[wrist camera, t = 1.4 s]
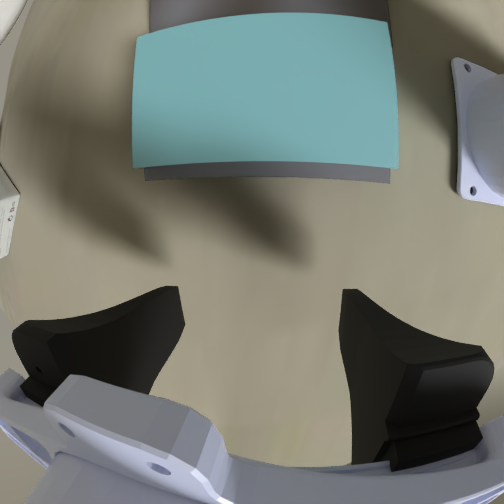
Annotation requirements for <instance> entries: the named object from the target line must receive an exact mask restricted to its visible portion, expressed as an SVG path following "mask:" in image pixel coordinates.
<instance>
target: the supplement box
mask: <svg viewBox="0 0 504 504" xmlns="http://www.w3.org/2000/svg"><path fill="white" fill-rule="evenodd" d="M19 199H20V194H19V192H18V191H17V190H16V188H15V187H14V185H13V184H12V183H11V181H10V180H9V178H8V177H7V175H6V174H5V172H4V171H3V169H2V167H1V166H0V258H2V257H4V256H6V255H8V253H9V249H10V243H11V237H12V232H13V227H14V222H15V217H16V212H17V208H18V203H19Z"/></svg>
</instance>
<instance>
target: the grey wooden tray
mask: <svg viewBox="0 0 504 504" xmlns="http://www.w3.org/2000/svg"><path fill="white" fill-rule="evenodd" d="M261 13H321V14H334V15H344V16H352V17H360V18H366V19H372V20H378V21H383V22H387V24H388V30H389V35H390V41H391V47H392V48H393V46H392V35H391V26H390V18H389V11H388V4H387V0H150V33H152V32H155V31H159V30H163V29H167V28H170V27H175V26H179V25H183V24H188V23H193V22H198V21H203V20H209V19H215V18H222V17H229V16H238V15H248V14H261Z"/></svg>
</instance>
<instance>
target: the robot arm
mask: <svg viewBox="0 0 504 504" xmlns="http://www.w3.org/2000/svg"><path fill="white" fill-rule="evenodd" d="M464 66H466V68H467V69H468V71H467V70H466V69H465V67H464ZM451 67H452V73H453V80H454V88H455V97H456V108H457V123H458V174H457V193H458V195H459V196H460V197H461V198H464V199H468V200H474V201H480V202H485V203H490V204H496V205H501V206H504V74H501V75H498V74H496V73H494V72H492V71H490V70H488V69H486V68H483V67H481V66H479V65H476V64H474V63H472V62H469V61H467V60H464V59H462V58H459V57H456V58H454V59H452V61H451ZM471 187H472V188H473V192H472V194H470V188H471ZM184 326H185V321H184V316H183V311H182V306H181V300H180V295H179V289H178V286H164V287H160V288H157V289H155V290H152V291H150V292H148V293H145V294H143V295H141V296H138V297H136V298H134V299H131V300H129V301H126V302H124V303H121V304H119V305H116V306H114V307H111V308H108V309H105V310H102V311H99V312H95V313H91V314H87V315H82V316H77V317H72V318H65V319H56V320H28V321H25V322H24V323H22V324H21V325H20V326H18V327H17V328H16V329H15V330H13V333H12V340H13V344H14V347H15V350H16V352H17V354H18V356H19V358H20V360H21V362H22V364H23V365H24V367H25V369H26V371H27V372H28V374H29V377H28V378H27V379H26V380H25V379H24V378H23V376H21V375H20V374H19V373H17V372H15V371H14V370H12V369H10V368H9V369H8V370H7V371H5V372H4V373H3V374H2V375H1V376H0V427H1V429H2V430H3V431H4V432H5V433H6V434H7V436H8V437H9V438H10V439H11V440H13V441H14V442H15V443H16V444H17V445H18V446H19V447H21V448H22V449H23V450H24V451H25V452H26V453H28V454H29V455H30V456H31V457H32V458H33V459H35V460H36V461H37V462H38V463H40V464H41V465H42V466H44V467H45V468H46V471H45V472H44V474H43V475H42V476H41V478H40V479H39V481H38V482H37V483H36V485H35V486H34V488H33V489H32V491H31V492H30V494H29V495H28V497H27V498H26V500H25V501H24V503H23V504H487V503H489V502H491V501H492V500H494V499H495V498H496V497H498V496H499V495H500V494H502V493H503V492H504V415H502V416H500V417H498V418H495V419H493V420H490V421H488V422H486V423H485V424H483V425H482V426H481V427H480V428H479V426H478V424H477V422H476V420H478V418H479V416H480V414H479V412H478V410H477V408H476V407H477V406H478V404H479V402H480V401H481V399H482V398H483V396H484V394H485V393H486V391H487V389H488V387H489V385H490V383H491V381H492V378H493V374H494V364H493V362H492V360H491V359H490V358H489V356H488V355H487V353H486V352H485V350H484V349H483V348H482V346H478V345H471V344H465V343H459V342H455V341H451V340H447V339H443V338H440V337H437V336H434V335H431V334H429V333H426V332H424V331H421V330H419V329H417V328H415V327H413V326H411V325H409V324H407V323H405V322H403V321H401V320H400V319H398V318H396V317H395V316H393V315H392V314H390V313H389V312H387V311H386V310H384V309H383V308H382V307H380V306H379V305H378V304H376V303H375V302H374V301H372V300H371V299H370V298H369V297H367V296H366V295H365V294H363V293H362V292H361V291H359V290H358V289H343V292H342V303H341V313H340V322H339V340H340V350H341V354H342V359H343V363H344V368H345V372H346V377H347V381H348V386H349V392H350V400H351V417H352V463H351V465H347V466H331V467H285V466H279V465H274V464H270V463H265V462H260V461H256V460H252V459H248V458H244V457H240V456H237V455H233V454H229V453H227V451H226V448H225V444H224V441H223V437H222V436H221V434H220V433H219V432H218V430H217V429H216V427H215V426H214V425H213V423H212V422H211V421H210V420H209V419H208V418H206V417H204V416H203V415H201V414H200V413H198V412H197V411H195V410H194V409H192V408H191V407H188V406H185V405H182V404H180V403H177V402H174V401H171V400H169V399H165V398H160V397H156V396H152V395H149V392H150V390H151V388H152V386H153V383H154V381H155V379H156V378H157V376H158V374H159V372H160V371H161V369H162V367H163V366H164V364H165V363H166V361H167V359H168V358H169V356H170V355H171V353H172V351H173V350H174V348H175V346H176V345H177V343H178V341H179V339H180V336H181V334H182V332H183V329H184Z"/></svg>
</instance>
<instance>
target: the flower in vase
mask: <svg viewBox="0 0 504 504" xmlns="http://www.w3.org/2000/svg"><path fill="white" fill-rule="evenodd" d="M26 2H27V0H0V45H1V43H2V42H3V41H4V39H5V38H6V36H7V35H8V34H9V32H10V31H11V29H12V27H13V26H14V24H15V22H16V21H17V19H18V17H19V15H20V14H21V12H22V10H23V8H24V6H25V4H26Z"/></svg>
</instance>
